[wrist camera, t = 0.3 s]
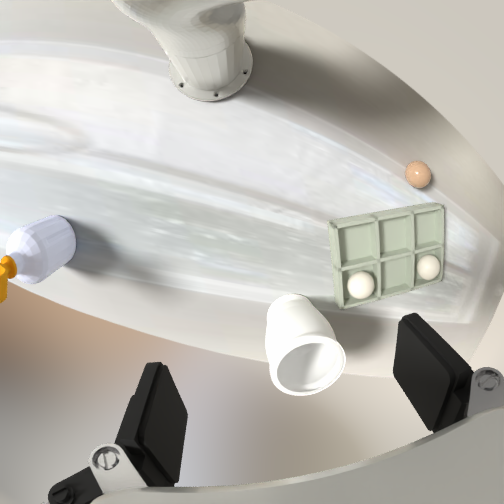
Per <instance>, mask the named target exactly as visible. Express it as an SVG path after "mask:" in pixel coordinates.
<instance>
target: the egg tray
mask: <svg viewBox="0 0 504 504" xmlns="http://www.w3.org/2000/svg"><path fill="white" fill-rule="evenodd" d="M327 225H328V233H329V242H330V251H331V261H332V271H333V282H334V295H335V302H336V304H337V305H338V307H339V308H340V310H343V309H347V308H351V307H355V306H359V305H362V304H366V303H370V302H374V301H377V300H381V299H385V298H388V297H392V296H395V295H399V294H402V293H405V292H409V291H412V290H415V289H419V288H422V287H425V286H428V285H431V284H435V283H438V282H441V281H442V275H443V258H444V205H442V204H439V203H435V202H431V203H425V204H419V205H413V206H407V207H402V208H396V209H390V210H385V211H379V212H373V213H368V214H362V215H357V216H351V217H346V218H340V219H335V220H329V221H327ZM427 254H430V255H433V256H435V257H436V258H437V259H438V261H439V263H440V271H439V273H438V275H437V276H436V277H435V278H434V279H431V280H425V279H423V278H421V277H420V276H419V274H418V272H417V263H418V260H419V259H420V258H421V257H422V256H424V255H427ZM358 271H364V272H367V273H369V274H370V275H371V276H372V278H373V280H374V290H373V292H372V294H371V295H370V296H369V297H367V298H365V299H356V298H354V297H353V296H352V295H351V294H350V293H349V291H348V288H347V283H348V280H349V278H350V276H351V275H352V274H354V273H355V272H358Z"/></svg>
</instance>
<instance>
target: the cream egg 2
mask: <svg viewBox="0 0 504 504" xmlns="http://www.w3.org/2000/svg"><path fill="white" fill-rule="evenodd" d="M439 271H440V263H439V261H438V259H437V258H436V257H435V256H433V255H430V254H427V255H424V256H422V257H421V258H420V259H419V260H418V263H417V272H418V274H419V276H420V277H421V278H423V279H425V280H431V279H434V278H435V277H436V276H437V275H438V273H439Z"/></svg>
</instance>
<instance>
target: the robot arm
mask: <svg viewBox="0 0 504 504" xmlns="http://www.w3.org/2000/svg"><path fill="white" fill-rule="evenodd" d="M111 1H112V2H113V4H114V5H115V6H116V7H117V8H118V9H119V10H120V11H121V12H123V13H124V14H125V15H127V16H128V17H130V18H131V19H133V20H134V21H136V22H138V23H139V24H141V25H143V26H145V27H146V28H147V29H148V30H149V31H150V32H151V33H152V35H153V36H154V37H155V39H156V40H157V41H158V43H159V44H160V46H161V47H162V49H163V50H164V52H165V53H166V55H167V56H168V58H169V59H170V60H169V74H170V78H171V80H172V82H173V84H174V85H175V87H176V88H177V89H178V90H179V91H180V92H181V93H182V94H184V95H186V96H187V97H189V98H192V99H195V100H199V101H216V100H221V99H224V98H227V97H229V96H231V95H233V94H235V93H236V92H237V91H238V90H240V89H241V88H242V87H243V86H244V85H245V83H246V82H247V80H248V78H249V77H250V74H251V71H252V66H253V58H252V53H251V50H250V48H249V46H248V45H247V43H246V42H245V41H244V33H245V21H246V20H245V19H246V11H245V5H244V3H243V2H247V1H253V0H111ZM244 72H246V73H247V74H246V75H245V74H243V73H244ZM182 85H184V87H182V88H181V86H182ZM216 94H218V97H216V96H215V95H216ZM393 374H394V377H395V379H396V380H397V382H398V383H399V385H400V386H401V388H402V389H403V391H404V392H405V394H406V396H407V397H408V399H409V400H410V402H411V403H412V405H413V406H414V408H415V410H416V411H417V413H418V414H419V416H420V418H421V419H422V421H423V422H424V424H425V426H426V427H427V429H428V430H430V431H431V430H432V431H433V434H431V435H429V436H426V437H424V438H422V439H420V440H417V441H415V442H413V443H410V444H408V445H405V446H403V447H400V448H398V449H395V450H392V451H389V452H387V453H384V454H381V455H378V456H376V457H372V458H369V459H366V460H363V461H360V462H356V463H353V464H350V465H346V466H342V467H339V468H334V469H331V470H327V471H322V472H318V473H313V474H309V475H304V476H299V477H293V478H288V479H281V480H275V481H268V482H260V483H251V484H241V485H228V486H208V487H174V484H175V483H178V481H179V475H180V468H181V460H182V453H183V445H184V439H185V432H186V425H187V418H188V414H187V410H186V408H185V406H184V403H183V401H182V399H181V397H180V395H179V393H178V390H177V388H176V386H175V383H174V381H173V379H172V376H171V374H170V372H169V369H168V367H167V366H166V365H163V364H162V363H161V362H153V363H147V364H146V366H145V368H144V371H143V373H142V376H141V379H140V381H139V384H138V387H137V389H136V392H135V395H133V396H132V397H131V399H130V401H129V404H128V407H127V409H126V412H125V415H124V418H123V421H122V423H121V426H120V429H119V432H118V434H117V438H116V440H115V443H114V444H112V443H106V444H102V445H99V446H98V447H96V448H95V449H94V450H93V451H92V452H91V454H90V456H89V465H90V466H89V467H87V468H85V469H83V470H82V471H80V472H78V473H76V474H74V475H72V476H70V477H68V478H67V479H65V480H63V481H61V482H59V483H57V484H55V485H54V486H53V487H52V488H51V489H50V491H49V494H48V500H49V502H48V503H47V504H504V377H503V375H502V374H501V373H500V372H499V371H498V370H496V369H494V368H490V367H483V368H480V369H478V370H476V371H475V372H473V371H472V370H471V367H470V366H469V365H468V364H467V363H466V361H465V360H464V359H463V358H462V357H461V356H460V355H459V354H458V353H457V352H456V351H455V350H454V349H453V348H452V347H451V346H450V345H449V344H448V343H447V342H446V341H445V340H444V339H443V338H442V337H441V336H440V335H439V334H438V333H437V332H436V331H435V330H434V329H433V328H432V327H431V326H430V325H429V324H428V323H427V322H425V321H424V320H423V319H422V318H421V317H420V316H419V315H418V314H417V313H412V314H409V315H405V316H403V317H402V320H401V321H399V324H398V334H397V343H396V352H395V359H394V366H393ZM42 504H46V503H44V502H43V503H42Z"/></svg>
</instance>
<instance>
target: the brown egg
mask: <svg viewBox="0 0 504 504" xmlns="http://www.w3.org/2000/svg"><path fill="white" fill-rule="evenodd" d="M405 176H406V179H407V181H408V183H409V184H410V185H412V186H413V187H415V188H423V187H425V186H426V185H428V183H429V182H430V179H431V172H430V169H429V167H428V166H427V165H426V164H425V163H424V162H422V161H413V162H411V163H410V164H409V165H408V166H407V168H406V171H405Z"/></svg>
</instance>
